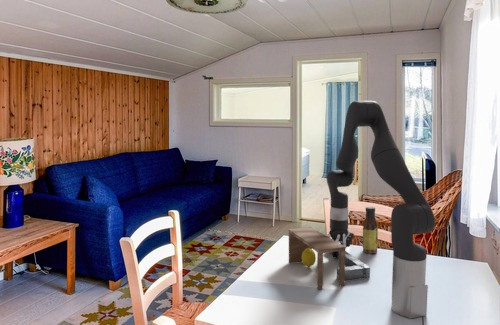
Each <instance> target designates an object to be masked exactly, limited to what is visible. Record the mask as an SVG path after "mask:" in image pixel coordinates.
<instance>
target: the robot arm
mask: <svg viewBox="0 0 500 325" xmlns="http://www.w3.org/2000/svg"><path fill="white" fill-rule="evenodd" d="M358 127H359V128H361V127H369V128H370V129H371V130H372V132H373V135H374V141H373V144H372V148H371V151H370V159H371V162H372V164H373V166H374V169H375V171H376V173H377V175H378V176H379V177H380V179H382V180H383V181H384V182H385V184H387V186H389V187H391V188H392V189H393V190H395V191H396V192H397V193H398V194H399V196H400V197H401V198H402V200H403V201H404V202H403V203H399V204H396V205H395V206H394V207H393V208H392V211H391V215H390V217H391V218H390V231H391V235H390V236H391V238H390V239H391V245H392V280H391V309H392V311H393V312H394V313H396V314H397V315H400V316H403V317H406V318H408V319H414V318H415V319H416V318H420V317H425V316H426V317H427V315H428V314H427V310H428V292H429V290H428V288H429V285H428V284H426V277H427V276H426V273H427V257H428V255H427V252H428V251H427V248H426V247H425V246H423V245H421V244H419V243H416V242H414V235H421V234H428V233H431V232H432V231H434V228H435V226H436V219H435V213H434V212H433V210H432V207H431V206H430V203H428V201H427V200H426V198H425V196H424V194H423V193H422V191H421V189H419V187H418V185H417V184H416V182H415V180H414V177H413V176H412V174H411V172H410V170H409V169H408V168H409V167H408V166H407V164H406V161H405V159H404V157H403V155H402V153H401V151H400V149H399V148H398V146H397V143H396V141H395V140H394V138H393V135H392V133H391V130H390V128H389V126H388V123H387V120H386V117H385V114H384V111H383V109H382V106H381V105H380V104H379V103H378V101H374V100H354V101H351V103H350V104H349V106H348V107H347V111H346V114H345V122H344V128H343V134H342V141H341V146H340V149H339V152H338V155H337V159H336V162H335V166H336V168H337V169H333V170H332V169H331V170H329V172H328V173H327V175H326V182H327V183H326V184H327V186H328V190H329V194H330V209H329V233H328V234H325V235H326V236H327V237H329V238H331V239H333V240H334V241H336V242H338V243H339V244H341V245H343V246H345V250H346V249H347V248H349V247H350V246H351V244H352V241H353V239H354V236H355V233H353V232H351V231H349V230H348V229H349V196H348V195H349V194H347V192H343V191H339V188H344V187H345V188H346V187H349V186H351V185H352V184H353V181H354V167H355V163H356V161H357V159H358V155H359V147H358V144H357V141H356V136H355V133H356V130H357V129H358ZM331 257H333V259H335V258H337V251H335V252H332V256H331Z"/></svg>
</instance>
